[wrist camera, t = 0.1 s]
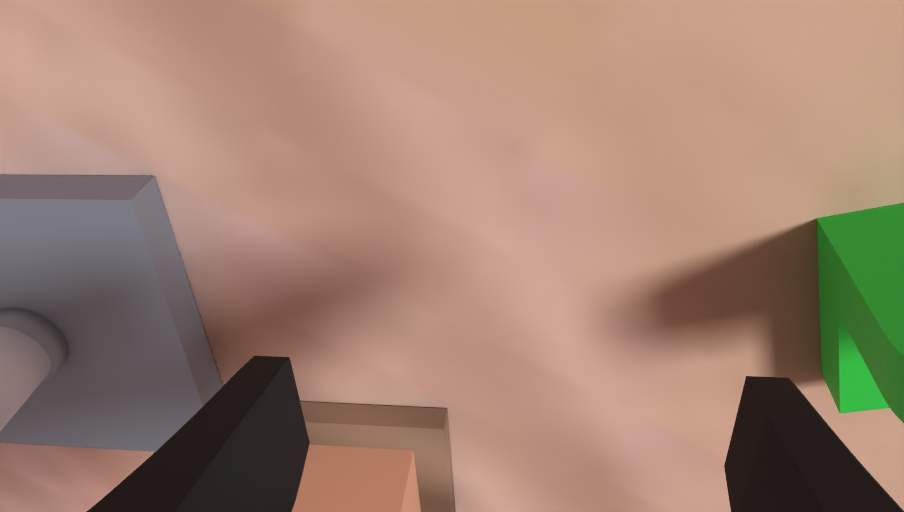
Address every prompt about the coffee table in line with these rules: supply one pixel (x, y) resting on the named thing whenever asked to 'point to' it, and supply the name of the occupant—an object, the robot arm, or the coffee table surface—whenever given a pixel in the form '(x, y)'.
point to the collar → (358, 480)
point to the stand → (392, 440)
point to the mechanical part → (863, 308)
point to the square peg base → (96, 316)
